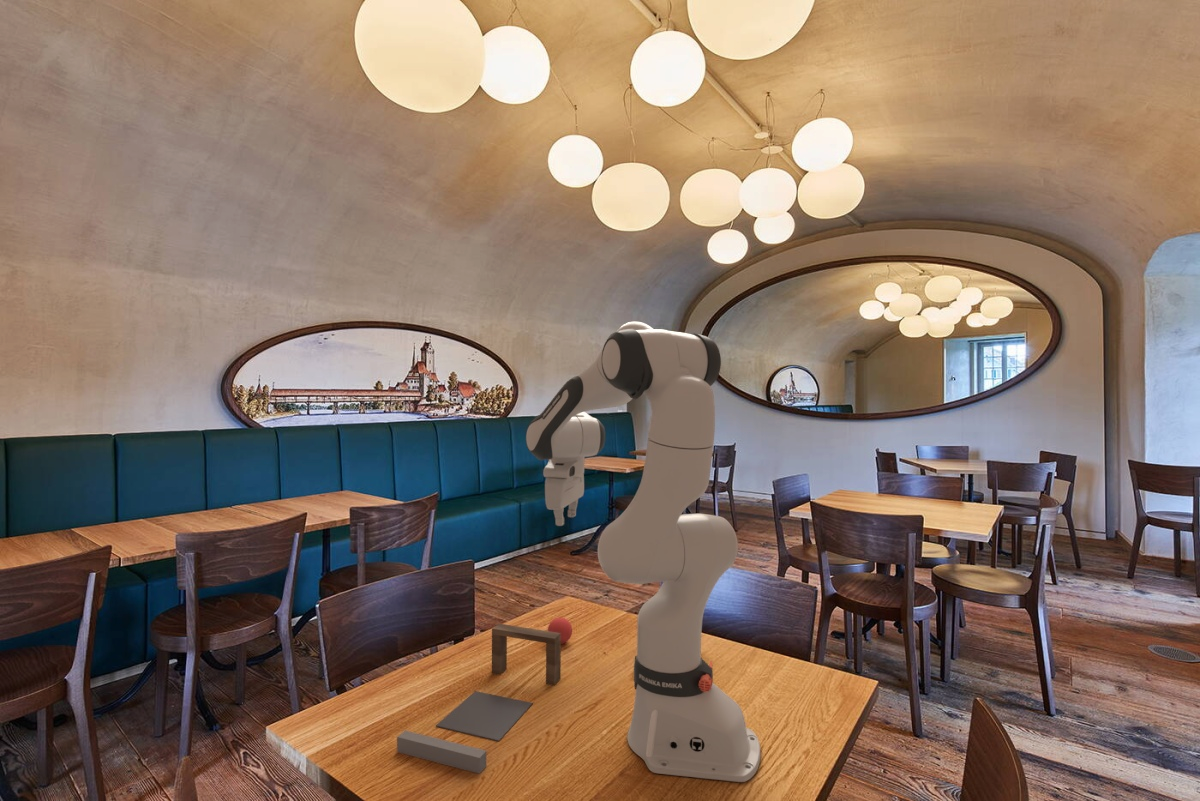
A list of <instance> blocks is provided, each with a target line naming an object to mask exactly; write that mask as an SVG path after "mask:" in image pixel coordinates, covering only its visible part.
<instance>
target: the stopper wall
mask: <svg viewBox="0 0 1200 801" xmlns="http://www.w3.org/2000/svg"><path fill="white" fill-rule="evenodd" d="M396 752H397V753H399V754H404V755H408V756H411V757H414V758H417V759H418V758H419V759H423V760H426V761H429V762H434V763H438V764H442V765H445V766H449V767H453V768H456V769H460V770H465V771H468V772H471V773H476V774H481V773H482V772H483V771H484V770H485V769H486V767H487V750H485V749H481V748H478V747H473V746H469V745H465V744H462V743H458V742H453V741H449V740H446V739H441V738H438V737H434V736H429V735H426V734H425V735H424V734H422V733H421V734H420V733H416V732H412V731H409V730H403V732H401V733H400V734H398V735H397V736H396Z"/></svg>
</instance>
